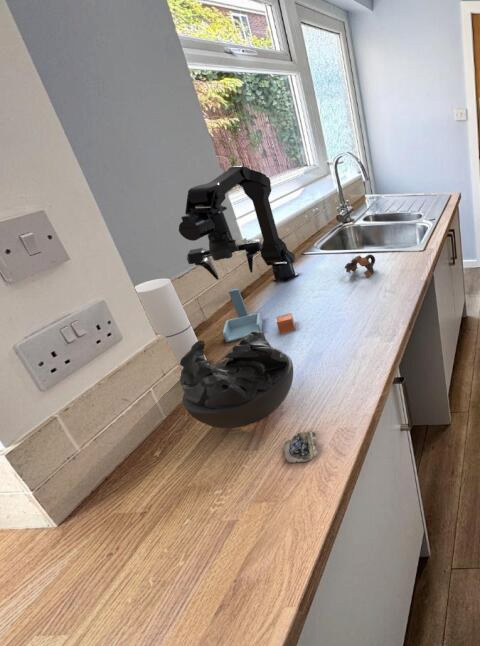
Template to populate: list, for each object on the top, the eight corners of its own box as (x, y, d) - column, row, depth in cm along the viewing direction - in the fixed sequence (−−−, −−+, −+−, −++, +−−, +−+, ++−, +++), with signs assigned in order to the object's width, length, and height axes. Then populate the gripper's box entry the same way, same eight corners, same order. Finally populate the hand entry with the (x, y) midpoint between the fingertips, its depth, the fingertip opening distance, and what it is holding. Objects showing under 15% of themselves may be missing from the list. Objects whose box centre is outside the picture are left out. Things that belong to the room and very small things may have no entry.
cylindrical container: (191, 380, 101) (148, 293, 91) (168, 377, 103) (123, 291, 92) (215, 362, 108) (177, 279, 97) (193, 360, 109) (154, 277, 98)
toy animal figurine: (363, 282, 149) (348, 265, 147) (353, 286, 156) (338, 270, 153) (385, 263, 157) (371, 246, 154) (374, 268, 164) (360, 252, 161)
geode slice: (310, 428, 85) (307, 422, 84) (329, 447, 80) (327, 440, 79) (277, 449, 80) (274, 442, 79) (295, 471, 76) (292, 463, 75)
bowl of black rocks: (321, 402, 92) (299, 333, 84) (226, 467, 77) (188, 390, 69) (276, 373, 102) (252, 309, 94) (184, 425, 88) (147, 354, 80)
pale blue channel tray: (230, 326, 124) (216, 292, 119) (263, 318, 128) (250, 285, 123) (226, 342, 116) (211, 306, 111) (261, 333, 120) (248, 297, 115)
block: (276, 316, 121) (276, 322, 117) (291, 312, 122) (291, 318, 119) (280, 327, 122) (280, 334, 119) (294, 323, 124) (295, 330, 121)
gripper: (173, 243, 110) (195, 293, 117) (251, 230, 118) (267, 277, 124) (181, 232, 119) (201, 279, 126) (253, 220, 127) (268, 265, 133)
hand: (235, 275), depth 127 cm, fingers open, 9 cm apart
